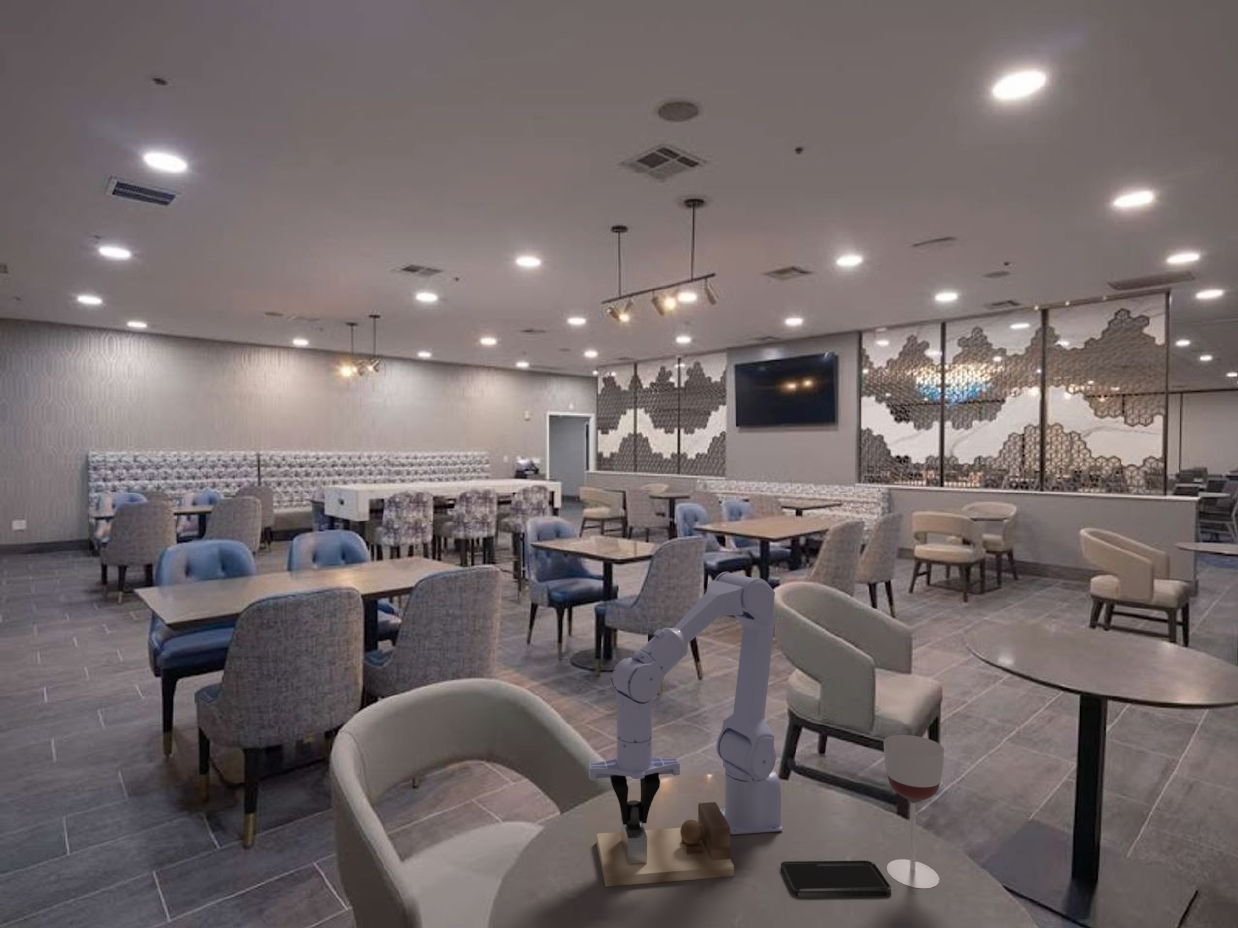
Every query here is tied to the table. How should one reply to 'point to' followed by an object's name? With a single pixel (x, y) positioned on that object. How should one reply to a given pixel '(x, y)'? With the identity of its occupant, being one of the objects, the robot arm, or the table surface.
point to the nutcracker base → (671, 853)
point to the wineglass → (913, 795)
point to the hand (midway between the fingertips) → (633, 820)
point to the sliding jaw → (634, 835)
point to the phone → (834, 879)
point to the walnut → (691, 832)
